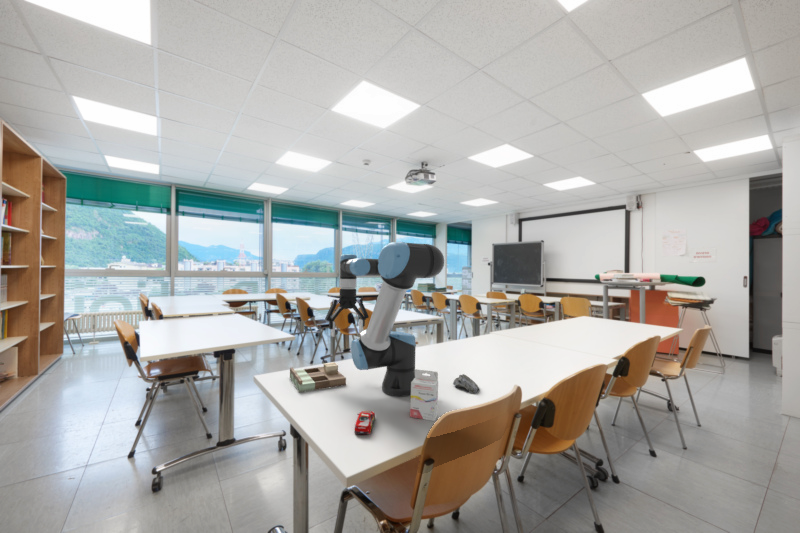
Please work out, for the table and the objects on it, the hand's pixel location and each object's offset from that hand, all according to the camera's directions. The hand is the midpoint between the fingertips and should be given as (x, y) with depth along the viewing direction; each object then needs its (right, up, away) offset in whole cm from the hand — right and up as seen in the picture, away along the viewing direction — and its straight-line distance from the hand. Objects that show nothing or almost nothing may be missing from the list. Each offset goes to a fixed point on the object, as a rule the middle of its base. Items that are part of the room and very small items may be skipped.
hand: (347, 335), depth 149 cm
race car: (+13, -19, -47) cm, 52 cm away
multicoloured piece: (-12, -19, -7) cm, 23 cm away
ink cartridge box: (+32, -19, -40) cm, 54 cm away
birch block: (-7, -16, -4) cm, 17 cm away
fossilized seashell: (+52, -20, -12) cm, 57 cm away
